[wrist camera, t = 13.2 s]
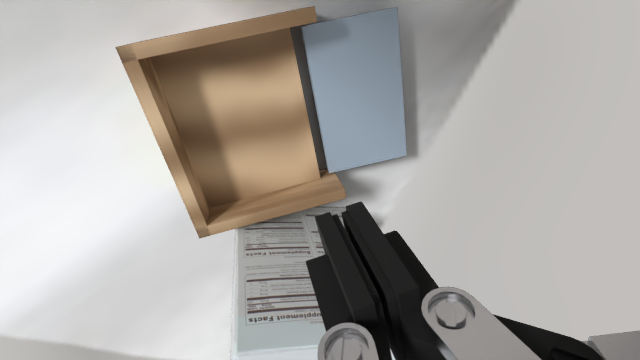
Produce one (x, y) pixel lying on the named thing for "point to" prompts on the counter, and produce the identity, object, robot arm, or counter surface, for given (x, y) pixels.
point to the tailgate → (357, 88)
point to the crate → (232, 120)
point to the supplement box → (277, 288)
